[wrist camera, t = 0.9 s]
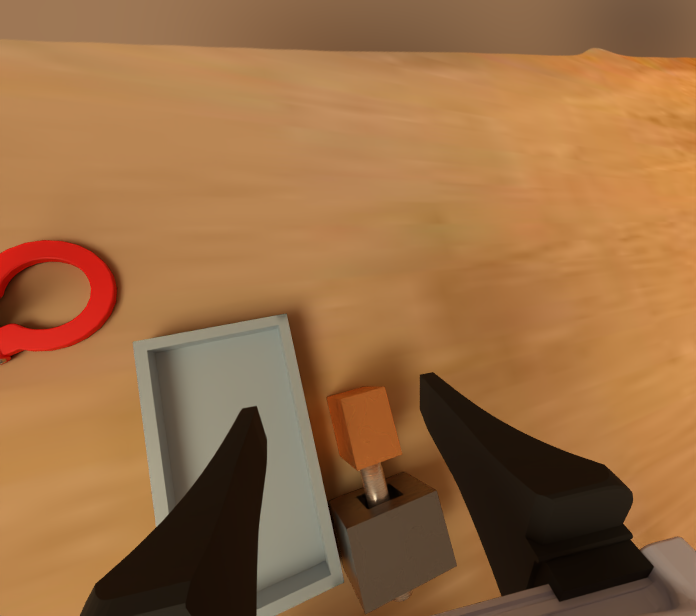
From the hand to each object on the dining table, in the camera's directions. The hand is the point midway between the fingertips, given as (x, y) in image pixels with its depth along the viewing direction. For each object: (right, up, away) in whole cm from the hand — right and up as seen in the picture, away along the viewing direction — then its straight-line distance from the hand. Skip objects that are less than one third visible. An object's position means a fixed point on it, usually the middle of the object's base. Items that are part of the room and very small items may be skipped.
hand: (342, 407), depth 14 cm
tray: (-8, -7, +11) cm, 15 cm away
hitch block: (+3, -13, +13) cm, 18 cm away
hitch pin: (+2, -10, +13) cm, 17 cm away
